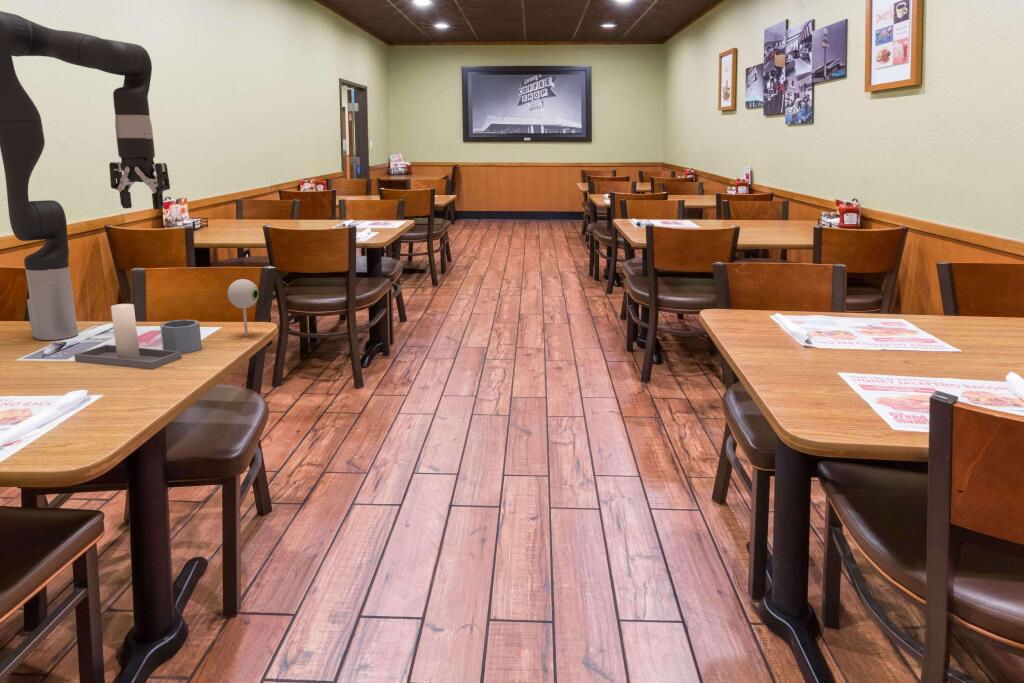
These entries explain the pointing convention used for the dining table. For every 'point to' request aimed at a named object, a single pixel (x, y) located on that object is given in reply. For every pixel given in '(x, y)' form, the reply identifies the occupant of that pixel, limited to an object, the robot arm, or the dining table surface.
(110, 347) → the tray
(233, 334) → the dining table surface
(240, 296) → the lollipop
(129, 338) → the peg
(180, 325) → the grey octagonal collar
